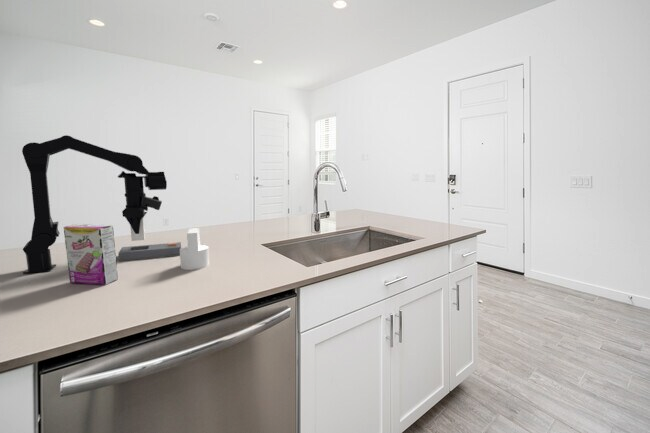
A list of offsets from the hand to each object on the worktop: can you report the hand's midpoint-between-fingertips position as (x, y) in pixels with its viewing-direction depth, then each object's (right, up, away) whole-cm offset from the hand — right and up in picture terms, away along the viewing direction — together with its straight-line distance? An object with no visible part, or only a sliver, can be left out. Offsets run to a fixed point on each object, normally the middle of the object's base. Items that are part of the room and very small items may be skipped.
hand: (137, 232), depth 115 cm
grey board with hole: (+6, -8, +4) cm, 11 cm away
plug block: (0, -3, 0) cm, 3 cm away
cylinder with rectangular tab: (+25, -11, -10) cm, 29 cm away
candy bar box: (+3, -13, -26) cm, 29 cm away
